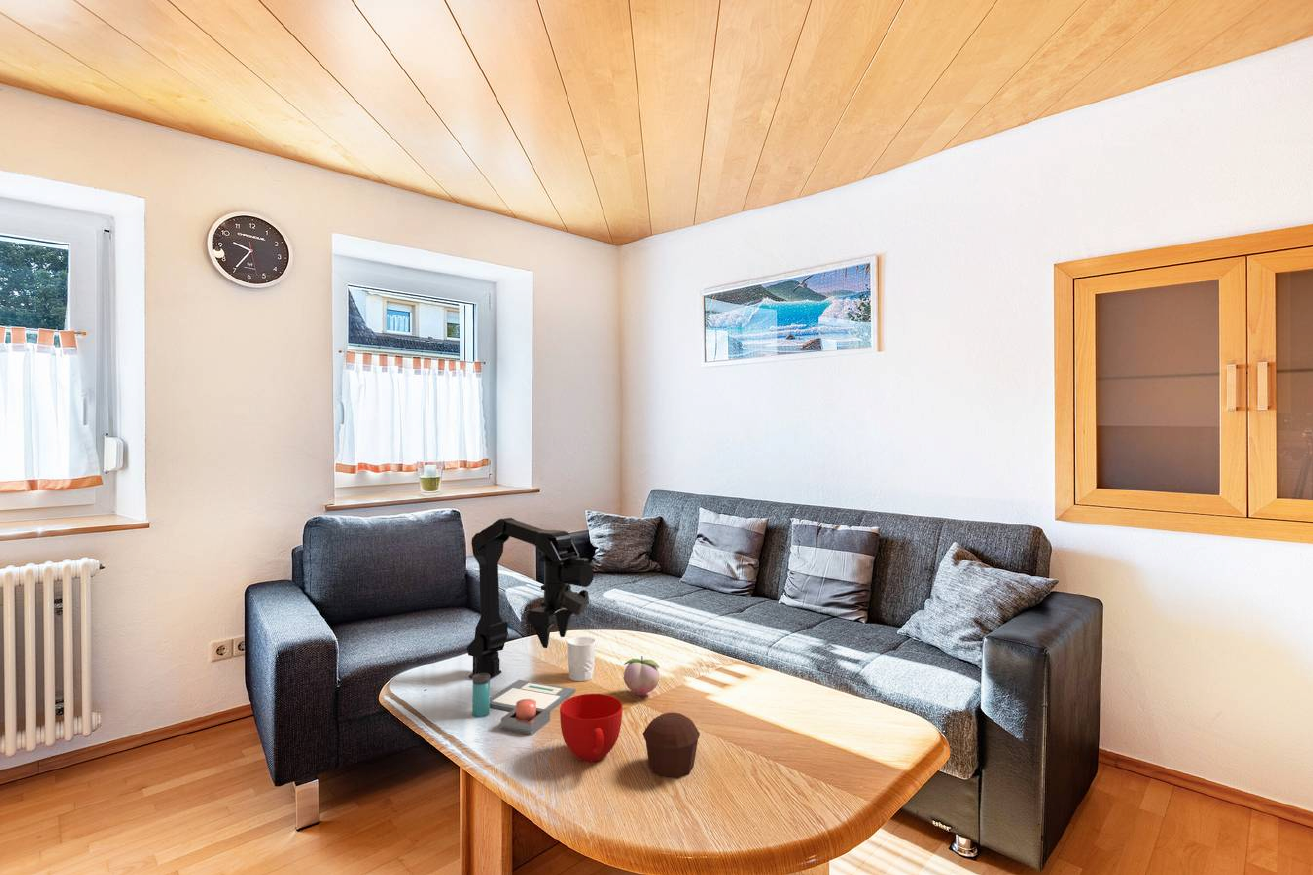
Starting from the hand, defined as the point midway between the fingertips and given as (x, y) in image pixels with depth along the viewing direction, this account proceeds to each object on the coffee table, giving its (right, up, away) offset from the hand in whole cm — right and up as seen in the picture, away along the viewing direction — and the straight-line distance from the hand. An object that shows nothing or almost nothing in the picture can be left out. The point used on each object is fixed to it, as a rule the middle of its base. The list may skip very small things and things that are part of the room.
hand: (554, 642), depth 161 cm
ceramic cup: (+13, -14, -32) cm, 37 cm away
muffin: (+29, -14, -34) cm, 47 cm away
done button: (-4, -12, -17) cm, 21 cm away
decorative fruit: (+22, -14, +1) cm, 26 cm away
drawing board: (-6, -14, -2) cm, 15 cm away
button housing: (-4, -14, -17) cm, 22 cm away
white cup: (+5, -14, +13) cm, 20 cm away
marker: (-16, -13, -11) cm, 23 cm away
